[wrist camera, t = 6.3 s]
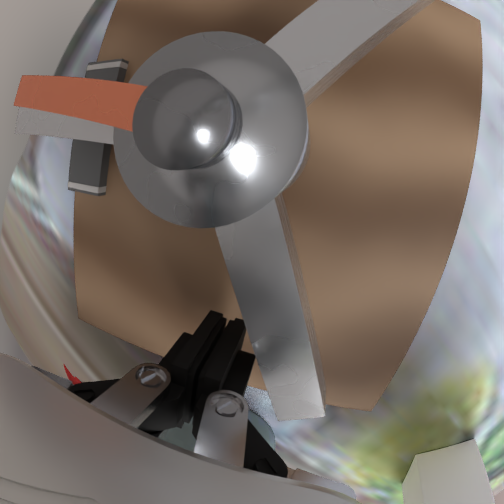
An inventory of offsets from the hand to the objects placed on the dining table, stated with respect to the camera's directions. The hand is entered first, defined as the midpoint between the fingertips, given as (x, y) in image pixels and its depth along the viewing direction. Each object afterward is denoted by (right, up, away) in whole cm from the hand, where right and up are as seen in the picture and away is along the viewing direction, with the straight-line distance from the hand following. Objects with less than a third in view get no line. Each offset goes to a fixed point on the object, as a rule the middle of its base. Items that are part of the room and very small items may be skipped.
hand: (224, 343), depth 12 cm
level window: (-7, +10, 0) cm, 12 cm away
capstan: (+2, +6, -1) cm, 6 cm away
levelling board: (+1, +8, +1) cm, 8 cm away
